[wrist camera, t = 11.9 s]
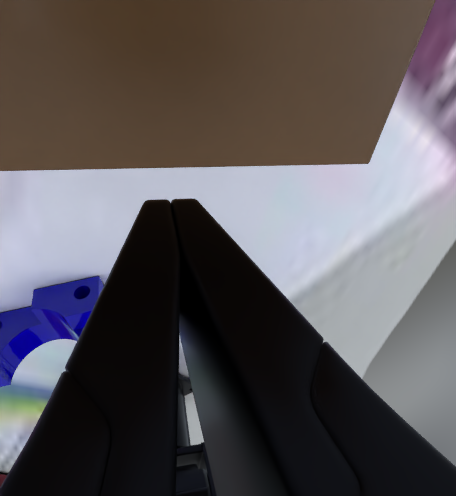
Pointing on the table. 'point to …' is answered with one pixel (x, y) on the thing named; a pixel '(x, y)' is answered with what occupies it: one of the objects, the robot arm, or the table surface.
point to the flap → (199, 81)
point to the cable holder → (45, 321)
